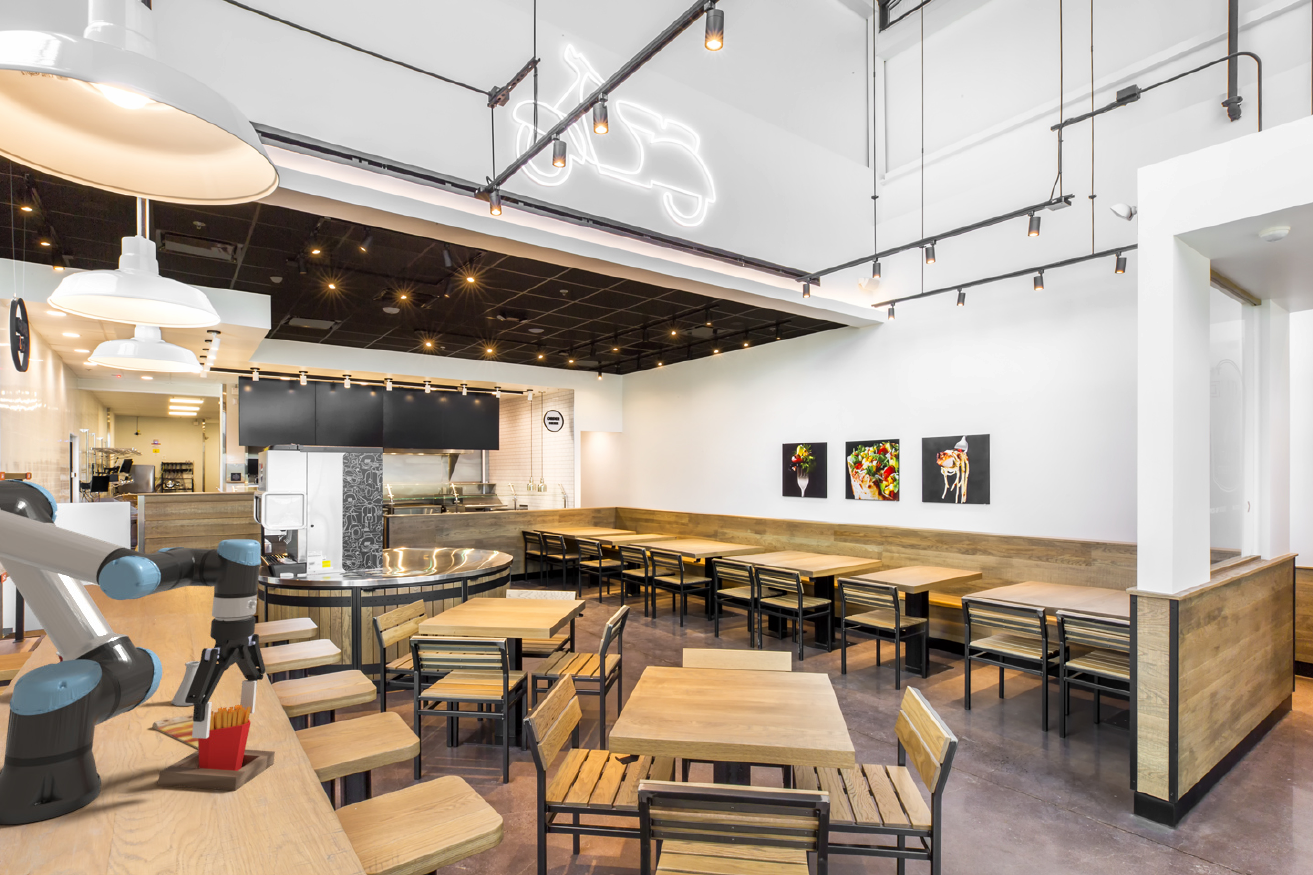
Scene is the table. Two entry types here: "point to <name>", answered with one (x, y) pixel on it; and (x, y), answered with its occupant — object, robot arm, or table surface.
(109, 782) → the table surface
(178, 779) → the fry holder
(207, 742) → the french fries
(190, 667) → the flask
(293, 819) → the table surface
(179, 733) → the pizza slice
